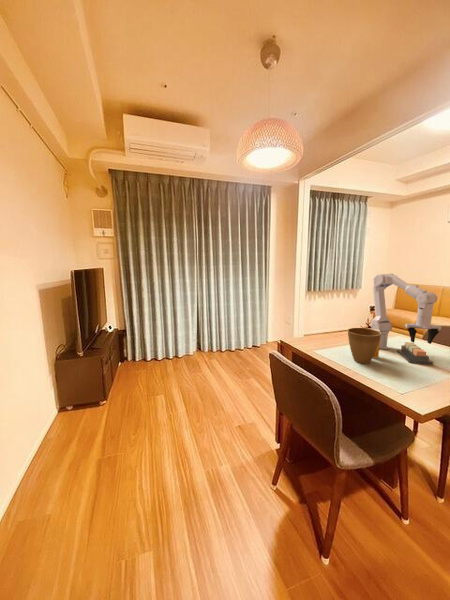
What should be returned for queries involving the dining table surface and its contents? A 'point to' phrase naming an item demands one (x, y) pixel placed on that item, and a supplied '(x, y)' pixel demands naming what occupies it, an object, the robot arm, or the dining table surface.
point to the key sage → (413, 348)
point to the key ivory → (409, 344)
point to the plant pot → (363, 343)
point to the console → (413, 357)
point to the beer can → (377, 347)
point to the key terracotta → (419, 352)
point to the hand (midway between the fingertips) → (420, 342)
